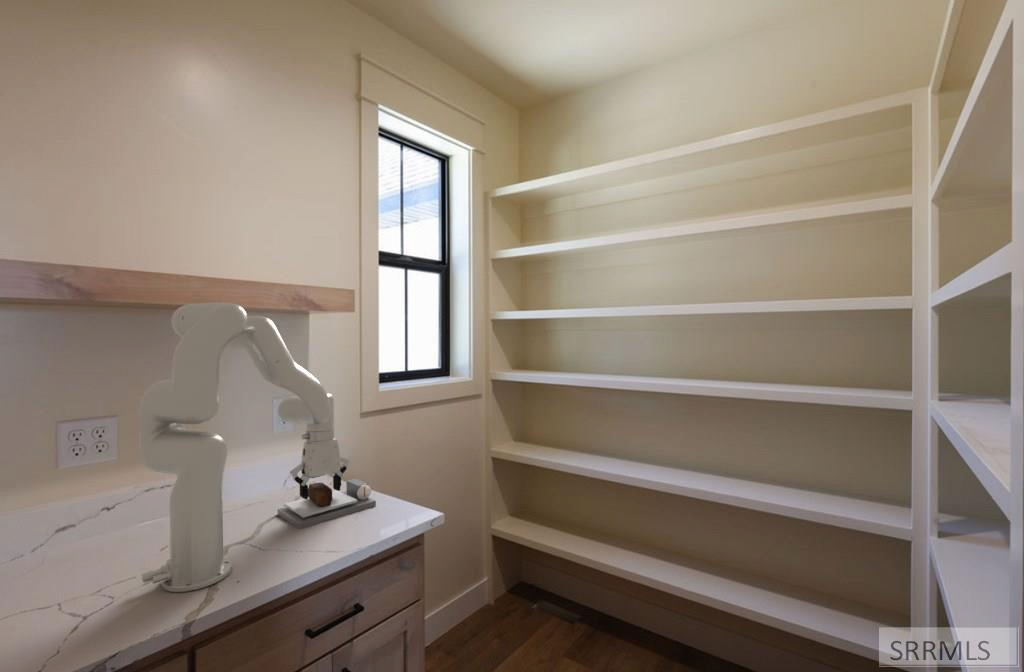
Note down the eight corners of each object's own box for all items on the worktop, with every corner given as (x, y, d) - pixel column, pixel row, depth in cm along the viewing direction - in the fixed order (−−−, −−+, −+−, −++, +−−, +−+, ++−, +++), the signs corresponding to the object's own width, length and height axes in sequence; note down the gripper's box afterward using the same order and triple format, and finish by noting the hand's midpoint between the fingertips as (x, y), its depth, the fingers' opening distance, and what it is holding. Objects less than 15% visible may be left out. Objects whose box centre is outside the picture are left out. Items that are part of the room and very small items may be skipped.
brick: (333, 505, 137) (332, 488, 137) (318, 508, 134) (318, 491, 134) (321, 495, 145) (321, 480, 145) (307, 498, 142) (307, 482, 142)
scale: (299, 528, 127) (298, 506, 127) (277, 514, 138) (277, 493, 138) (376, 505, 144) (376, 485, 144) (352, 494, 155) (351, 475, 155)
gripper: (295, 442, 130) (296, 504, 131) (354, 432, 143) (354, 489, 143) (284, 438, 136) (285, 498, 136) (342, 429, 148) (342, 484, 148)
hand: (321, 493), depth 139 cm, fingers open, 9 cm apart
